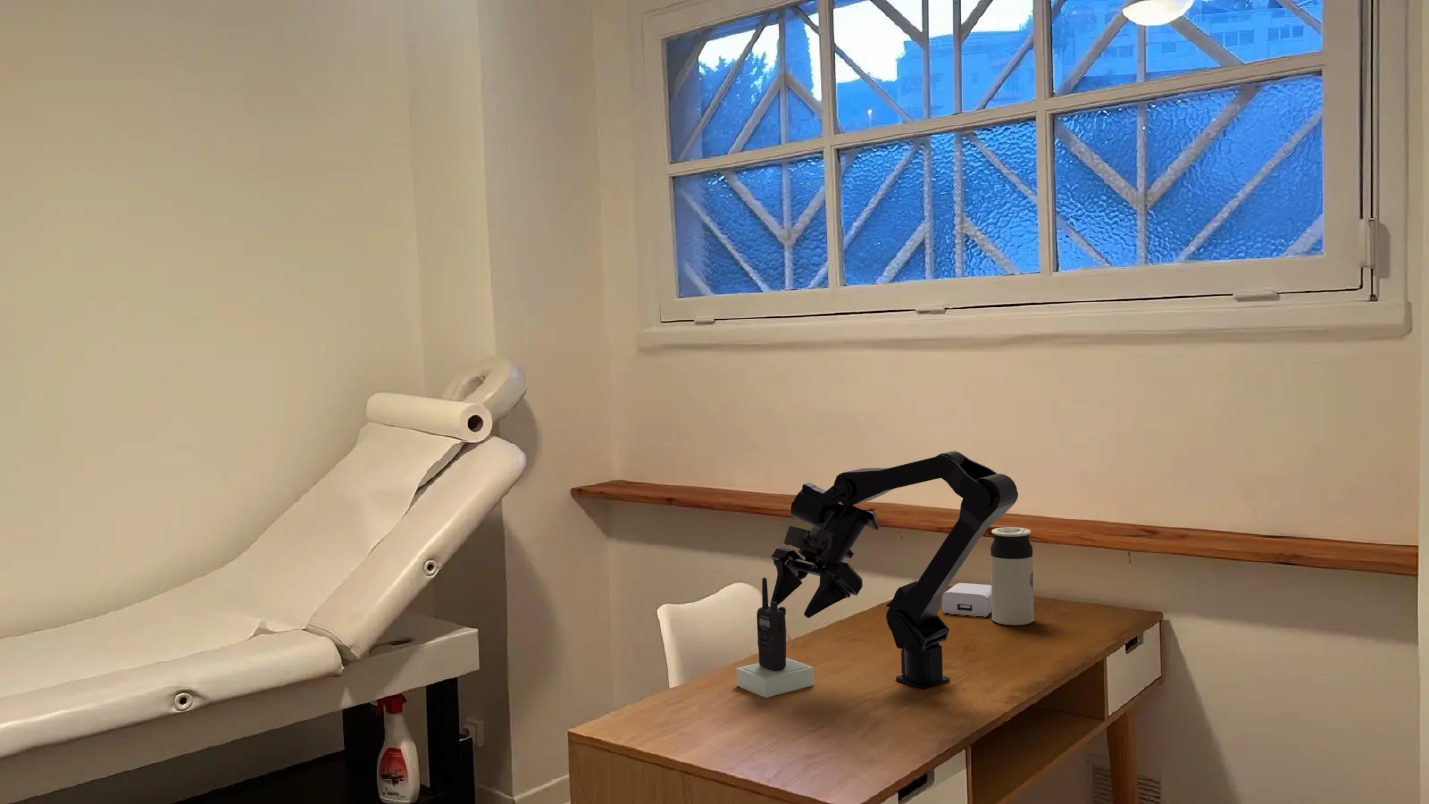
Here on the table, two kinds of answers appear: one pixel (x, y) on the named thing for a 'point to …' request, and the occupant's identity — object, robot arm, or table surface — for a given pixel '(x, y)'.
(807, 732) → the table surface
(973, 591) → the charger
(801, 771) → the table surface
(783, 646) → the two-way radio
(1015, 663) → the table surface
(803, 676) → the sage tile
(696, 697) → the table surface
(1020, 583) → the travel mug
